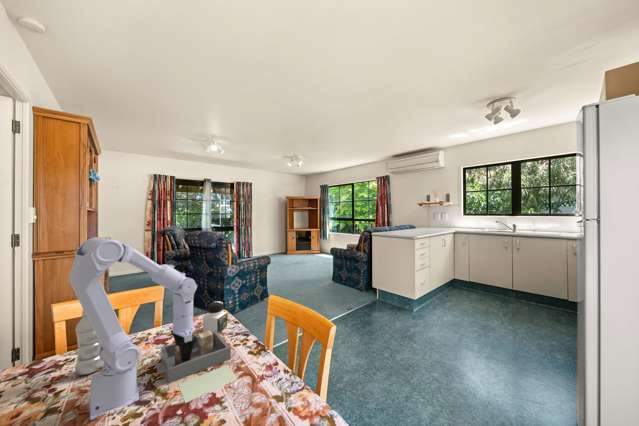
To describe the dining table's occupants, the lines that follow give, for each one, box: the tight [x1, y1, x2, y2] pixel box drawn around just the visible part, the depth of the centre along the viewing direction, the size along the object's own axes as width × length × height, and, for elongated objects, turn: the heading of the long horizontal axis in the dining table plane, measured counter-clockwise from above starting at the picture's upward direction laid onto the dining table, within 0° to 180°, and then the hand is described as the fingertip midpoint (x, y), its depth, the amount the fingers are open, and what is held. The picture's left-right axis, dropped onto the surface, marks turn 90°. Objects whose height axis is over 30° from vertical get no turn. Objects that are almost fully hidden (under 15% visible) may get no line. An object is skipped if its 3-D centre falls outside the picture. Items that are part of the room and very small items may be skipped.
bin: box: [160, 331, 232, 384], centre depth 81 cm, size 18×16×4 cm
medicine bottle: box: [202, 300, 228, 335], centre depth 103 cm, size 7×7×12 cm
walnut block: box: [175, 346, 191, 366], centre depth 78 cm, size 4×4×6 cm
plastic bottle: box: [74, 309, 104, 376], centre depth 76 cm, size 6×7×20 cm
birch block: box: [197, 331, 213, 355], centre depth 86 cm, size 4×4×6 cm
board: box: [178, 364, 238, 404], centre depth 70 cm, size 14×9×1 cm, turn 131°
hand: (183, 355), depth 78 cm, fingers open, 7 cm apart
